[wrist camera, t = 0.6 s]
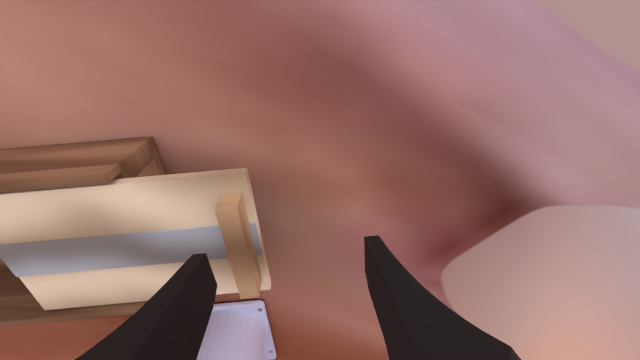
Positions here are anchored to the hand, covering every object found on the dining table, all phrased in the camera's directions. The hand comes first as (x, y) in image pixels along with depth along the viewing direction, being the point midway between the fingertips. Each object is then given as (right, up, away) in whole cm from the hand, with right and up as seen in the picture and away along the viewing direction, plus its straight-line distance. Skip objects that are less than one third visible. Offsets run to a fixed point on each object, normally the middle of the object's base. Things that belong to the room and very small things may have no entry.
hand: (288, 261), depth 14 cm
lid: (-10, 0, +6) cm, 12 cm away
